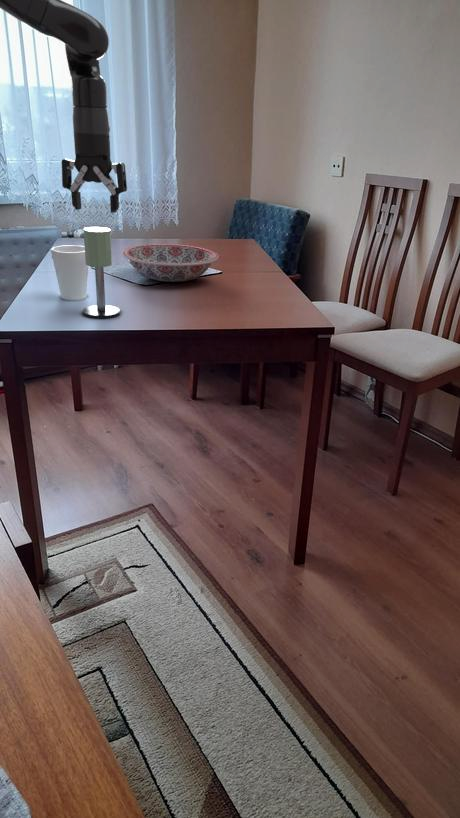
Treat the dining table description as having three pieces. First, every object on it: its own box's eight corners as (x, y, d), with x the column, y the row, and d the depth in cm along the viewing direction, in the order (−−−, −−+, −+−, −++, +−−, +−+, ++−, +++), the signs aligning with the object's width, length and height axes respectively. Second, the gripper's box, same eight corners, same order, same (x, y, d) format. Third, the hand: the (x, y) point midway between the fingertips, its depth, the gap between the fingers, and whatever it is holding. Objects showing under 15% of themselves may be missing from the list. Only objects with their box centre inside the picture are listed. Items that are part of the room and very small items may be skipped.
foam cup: (79, 305, 143) (75, 254, 137) (48, 300, 146) (43, 250, 140) (98, 296, 151) (95, 247, 145) (69, 291, 154) (65, 243, 148)
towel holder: (112, 322, 133) (108, 236, 124) (77, 318, 134) (70, 233, 125) (125, 311, 141) (122, 230, 132) (91, 307, 142) (86, 227, 133)
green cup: (107, 268, 129) (105, 232, 125) (81, 265, 129) (79, 230, 126) (115, 262, 134) (114, 228, 130) (91, 260, 135) (89, 226, 131)
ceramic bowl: (227, 291, 163) (228, 264, 159) (127, 292, 156) (126, 264, 152) (206, 268, 188) (207, 244, 184) (119, 268, 181) (118, 243, 177)
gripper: (52, 129, 116) (59, 210, 124) (117, 133, 115) (120, 215, 122) (67, 129, 123) (73, 206, 130) (129, 133, 121) (131, 211, 129)
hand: (96, 210), depth 126 cm, fingers open, 8 cm apart
